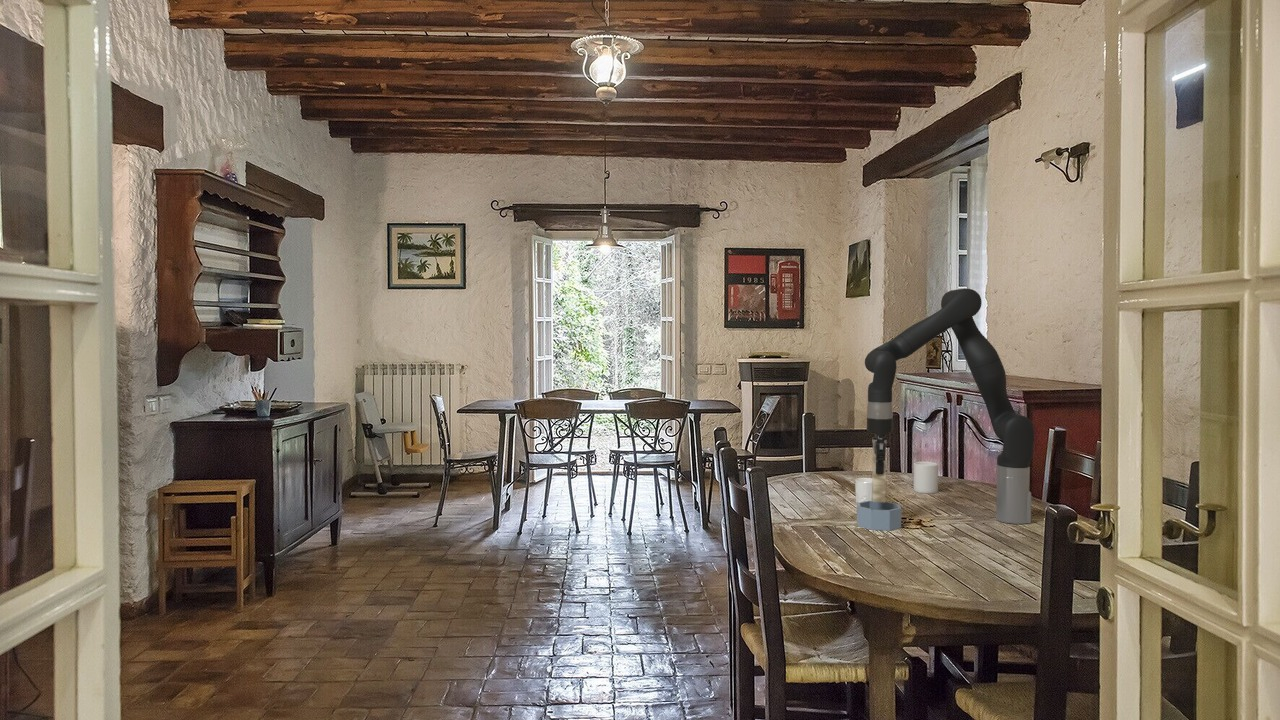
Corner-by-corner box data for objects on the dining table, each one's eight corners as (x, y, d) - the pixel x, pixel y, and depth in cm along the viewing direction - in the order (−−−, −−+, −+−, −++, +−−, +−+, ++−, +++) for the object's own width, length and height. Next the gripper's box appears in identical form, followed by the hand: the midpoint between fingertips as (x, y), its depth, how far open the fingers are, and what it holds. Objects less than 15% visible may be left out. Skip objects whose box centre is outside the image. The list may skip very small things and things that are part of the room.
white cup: (852, 511, 260) (852, 481, 260) (857, 506, 267) (857, 477, 267) (876, 514, 257) (877, 483, 256) (881, 509, 264) (882, 479, 263)
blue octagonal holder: (897, 520, 248) (898, 501, 247) (902, 531, 235) (902, 511, 235) (855, 519, 250) (856, 500, 250) (858, 529, 238) (858, 509, 238)
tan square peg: (884, 499, 244) (884, 451, 243) (885, 502, 240) (885, 453, 240) (872, 499, 245) (872, 450, 244) (873, 501, 241) (873, 452, 240)
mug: (912, 486, 298) (912, 459, 298) (935, 487, 296) (936, 460, 295) (914, 493, 287) (914, 465, 286) (938, 494, 284) (939, 466, 284)
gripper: (895, 419, 234) (894, 477, 234) (890, 414, 247) (889, 469, 248) (868, 419, 235) (868, 476, 236) (865, 413, 249) (864, 468, 250)
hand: (879, 472), depth 242 cm, fingers closed on tan square peg, 3 cm apart
